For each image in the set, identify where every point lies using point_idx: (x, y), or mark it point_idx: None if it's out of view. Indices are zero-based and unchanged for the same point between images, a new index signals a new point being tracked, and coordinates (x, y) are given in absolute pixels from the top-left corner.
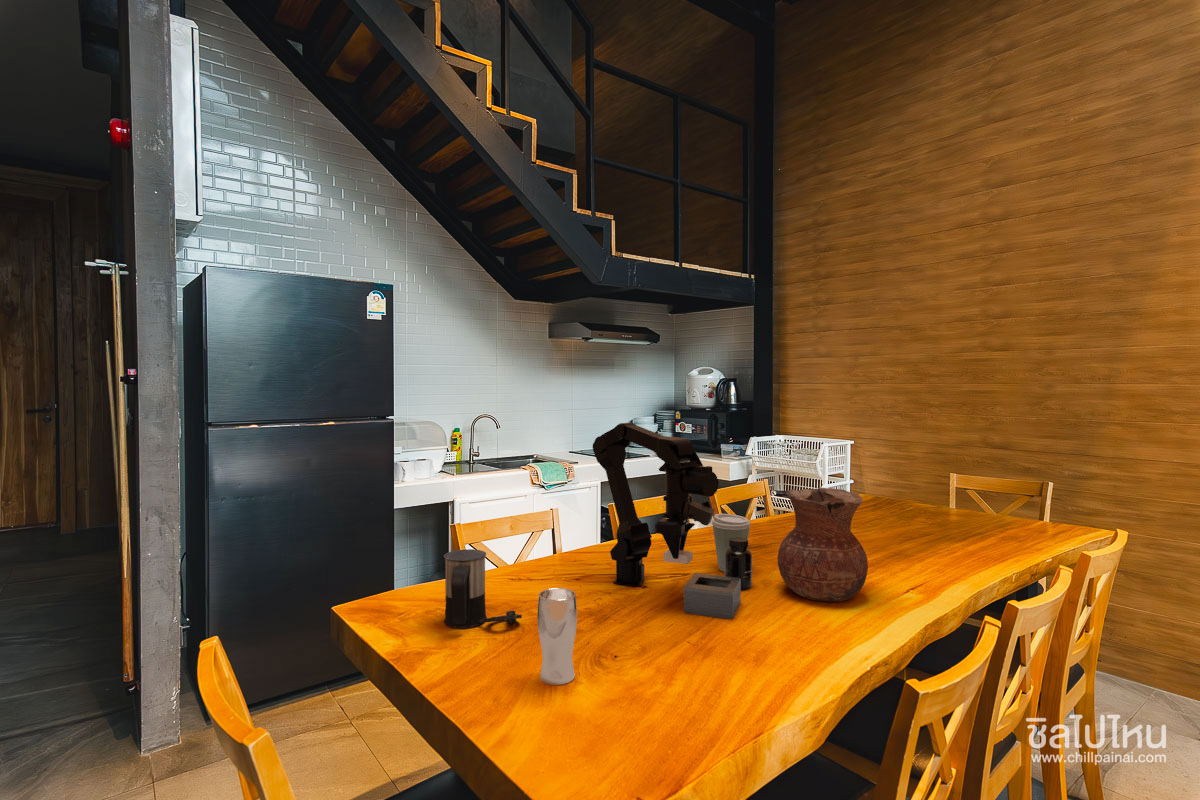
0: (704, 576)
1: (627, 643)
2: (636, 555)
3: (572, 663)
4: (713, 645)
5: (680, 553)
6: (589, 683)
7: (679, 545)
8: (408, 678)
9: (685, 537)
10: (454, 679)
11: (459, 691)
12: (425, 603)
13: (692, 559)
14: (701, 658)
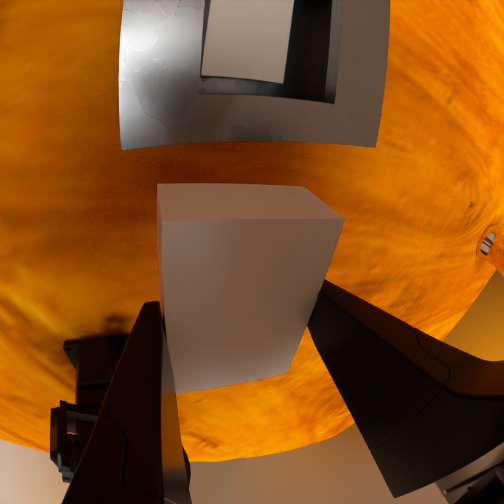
0: (174, 67)
1: (449, 204)
2: (93, 421)
3: (499, 235)
4: (452, 54)
5: (277, 296)
6: (497, 207)
7: (414, 332)
8: (454, 325)
9: (164, 443)
10: (465, 303)
11: (477, 288)
12: (321, 426)
13: (164, 186)
14: (480, 82)
